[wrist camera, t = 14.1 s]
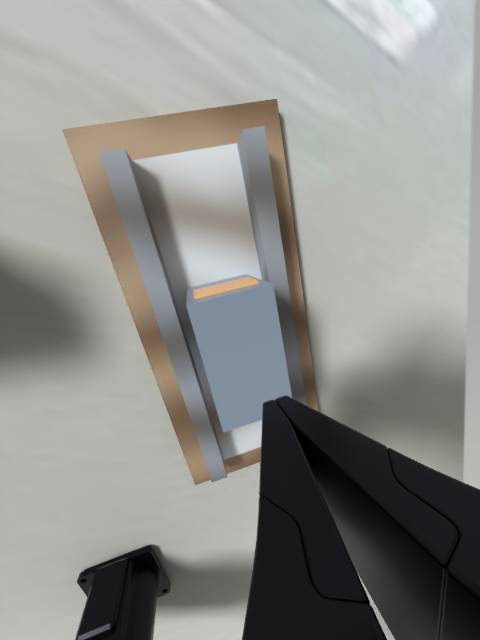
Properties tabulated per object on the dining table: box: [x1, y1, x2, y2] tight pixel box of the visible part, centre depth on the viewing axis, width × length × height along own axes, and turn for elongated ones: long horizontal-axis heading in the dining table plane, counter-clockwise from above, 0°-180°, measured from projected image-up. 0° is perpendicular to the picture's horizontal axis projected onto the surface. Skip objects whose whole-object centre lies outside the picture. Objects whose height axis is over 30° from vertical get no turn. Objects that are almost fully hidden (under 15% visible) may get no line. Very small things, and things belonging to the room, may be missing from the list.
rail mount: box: [63, 99, 319, 485], centre depth 17 cm, size 26×12×3 cm, turn 12°
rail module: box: [186, 274, 292, 433], centre depth 14 cm, size 7×4×6 cm, turn 12°
